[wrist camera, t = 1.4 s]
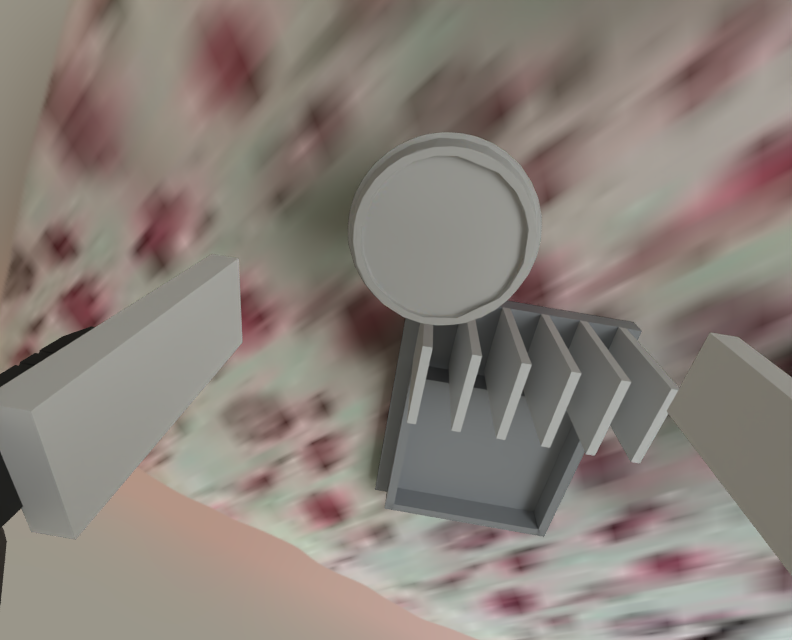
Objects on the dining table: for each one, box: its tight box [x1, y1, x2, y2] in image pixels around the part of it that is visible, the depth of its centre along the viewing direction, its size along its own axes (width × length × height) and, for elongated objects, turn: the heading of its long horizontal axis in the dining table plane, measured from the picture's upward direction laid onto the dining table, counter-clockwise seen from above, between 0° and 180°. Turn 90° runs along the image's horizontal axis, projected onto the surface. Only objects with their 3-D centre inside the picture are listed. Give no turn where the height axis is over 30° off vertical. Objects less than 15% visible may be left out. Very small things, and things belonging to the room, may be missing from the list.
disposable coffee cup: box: [348, 132, 542, 325], centre depth 25 cm, size 10×10×12 cm
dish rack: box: [375, 301, 679, 537], centre depth 34 cm, size 22×18×10 cm
